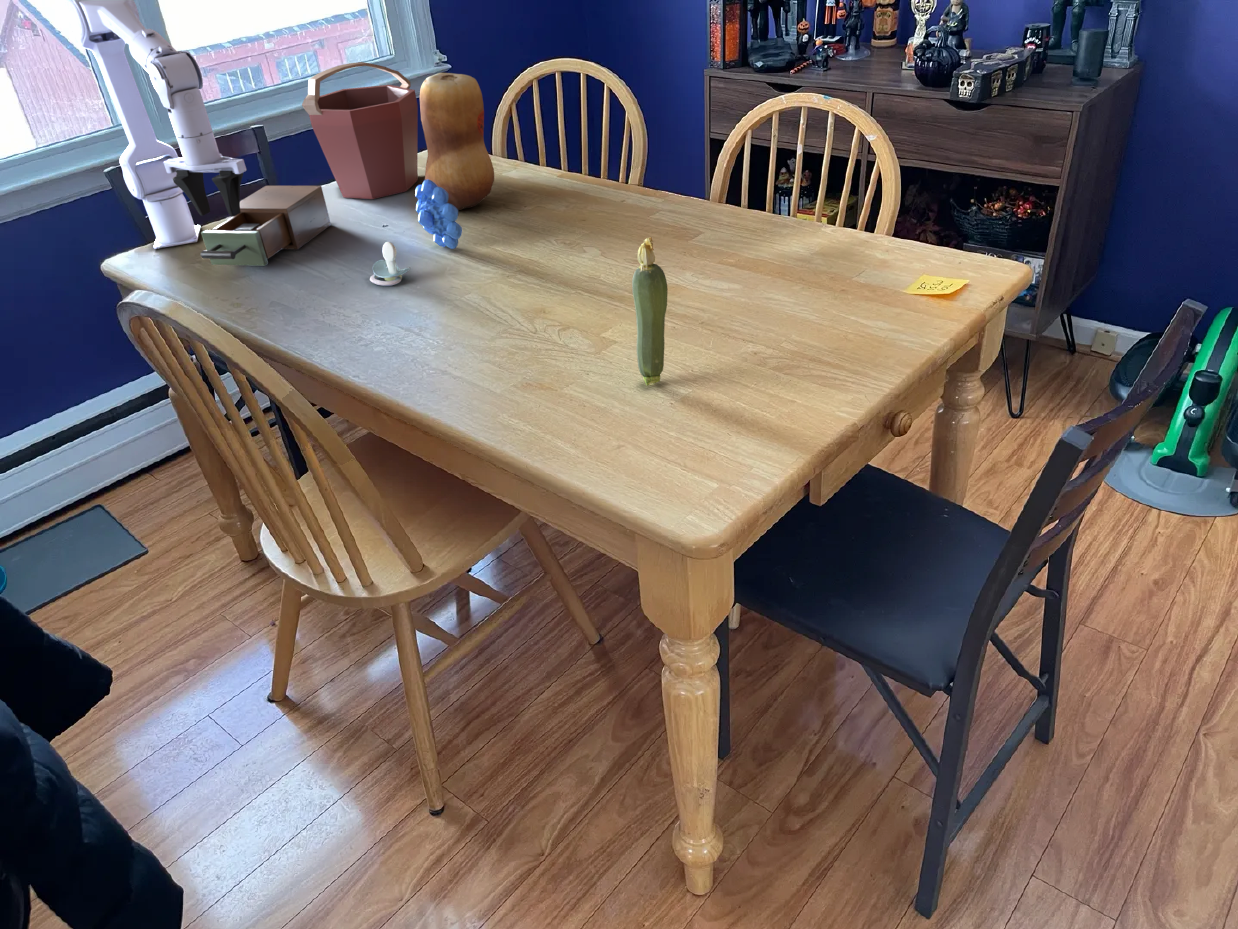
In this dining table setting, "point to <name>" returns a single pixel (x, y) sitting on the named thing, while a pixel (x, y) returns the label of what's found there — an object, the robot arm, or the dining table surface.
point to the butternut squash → (456, 138)
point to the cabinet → (292, 210)
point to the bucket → (367, 134)
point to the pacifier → (390, 273)
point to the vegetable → (649, 313)
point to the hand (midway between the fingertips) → (220, 214)
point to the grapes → (437, 214)
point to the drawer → (246, 239)
